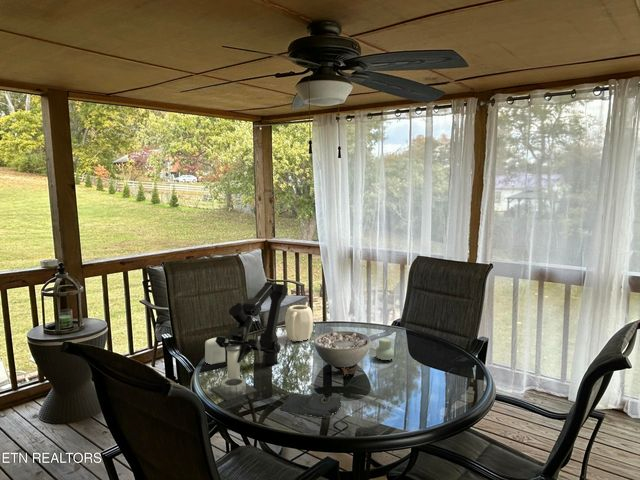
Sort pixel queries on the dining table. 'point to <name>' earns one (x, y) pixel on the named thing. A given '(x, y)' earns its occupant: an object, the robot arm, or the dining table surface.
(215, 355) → the photo printer
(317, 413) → the dark slate chunk
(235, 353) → the cream bottle
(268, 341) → the robot arm
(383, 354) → the air freshener
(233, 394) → the segmented ring base
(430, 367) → the dining table surface
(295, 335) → the watering can
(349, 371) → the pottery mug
